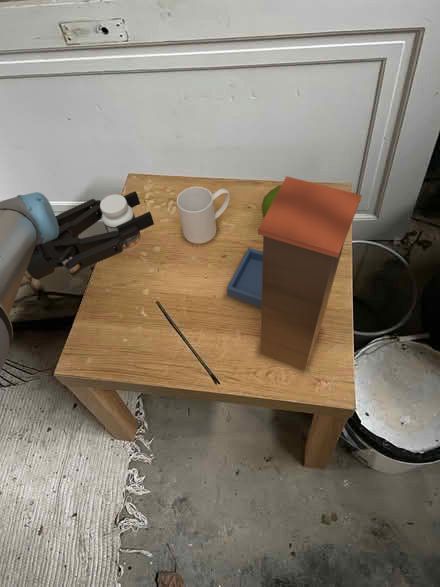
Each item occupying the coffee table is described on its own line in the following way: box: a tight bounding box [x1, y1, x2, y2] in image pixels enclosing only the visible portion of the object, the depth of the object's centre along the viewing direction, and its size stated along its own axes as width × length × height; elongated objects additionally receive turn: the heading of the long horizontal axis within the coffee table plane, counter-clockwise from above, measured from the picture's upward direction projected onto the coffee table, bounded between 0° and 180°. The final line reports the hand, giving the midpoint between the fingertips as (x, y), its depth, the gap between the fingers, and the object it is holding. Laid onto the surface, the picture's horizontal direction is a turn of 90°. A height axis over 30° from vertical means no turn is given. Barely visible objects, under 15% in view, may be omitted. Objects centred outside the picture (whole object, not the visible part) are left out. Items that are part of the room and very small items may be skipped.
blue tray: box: [226, 247, 263, 308], centre depth 88 cm, size 12×12×3 cm
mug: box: [176, 186, 231, 245], centre depth 95 cm, size 12×8×10 cm, turn 117°
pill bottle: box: [100, 193, 142, 252], centre depth 77 cm, size 6×6×10 cm
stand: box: [257, 176, 363, 371], centre depth 66 cm, size 10×10×36 cm
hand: (144, 207), depth 77 cm, fingers closed on pill bottle, 6 cm apart
